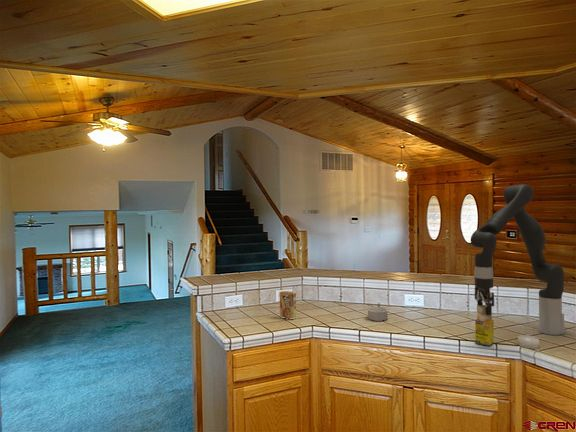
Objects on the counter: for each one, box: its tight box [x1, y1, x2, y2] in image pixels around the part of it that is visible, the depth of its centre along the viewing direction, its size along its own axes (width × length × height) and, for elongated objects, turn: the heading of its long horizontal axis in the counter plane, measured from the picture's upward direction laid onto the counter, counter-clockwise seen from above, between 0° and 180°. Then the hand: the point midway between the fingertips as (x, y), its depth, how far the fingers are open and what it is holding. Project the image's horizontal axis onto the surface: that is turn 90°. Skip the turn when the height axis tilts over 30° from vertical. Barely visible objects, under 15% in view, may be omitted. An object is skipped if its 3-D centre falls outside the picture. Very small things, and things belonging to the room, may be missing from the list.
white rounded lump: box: [517, 334, 540, 350], centre depth 171 cm, size 8×8×4 cm
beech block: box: [476, 304, 493, 321], centre depth 173 cm, size 4×4×6 cm
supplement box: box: [474, 318, 495, 348], centre depth 174 cm, size 6×6×11 cm
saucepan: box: [366, 302, 389, 322], centre depth 220 cm, size 12×20×6 cm, turn 163°
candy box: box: [279, 290, 298, 318], centre depth 220 cm, size 9×4×15 cm, turn 67°
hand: (484, 312), depth 174 cm, fingers open, 8 cm apart
